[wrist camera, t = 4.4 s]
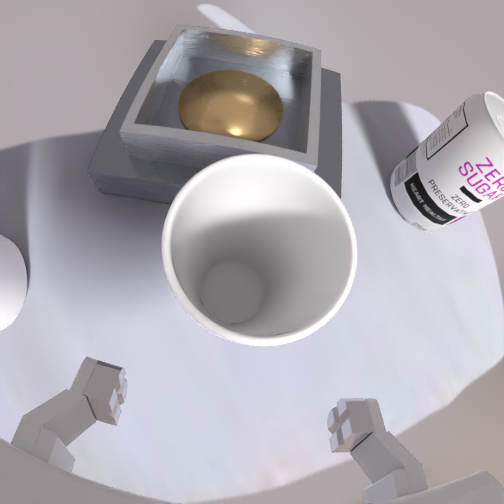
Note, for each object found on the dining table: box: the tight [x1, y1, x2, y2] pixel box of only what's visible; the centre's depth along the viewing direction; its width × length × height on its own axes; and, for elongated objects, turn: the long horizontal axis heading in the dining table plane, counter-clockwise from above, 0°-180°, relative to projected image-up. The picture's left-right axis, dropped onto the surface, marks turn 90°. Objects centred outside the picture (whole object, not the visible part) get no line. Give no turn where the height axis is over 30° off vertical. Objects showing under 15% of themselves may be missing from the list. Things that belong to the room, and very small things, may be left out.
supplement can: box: [390, 91, 504, 233], centre depth 22 cm, size 8×8×15 cm
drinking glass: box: [161, 154, 357, 346], centre depth 17 cm, size 7×7×15 cm
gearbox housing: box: [87, 25, 342, 204], centre depth 24 cm, size 20×17×8 cm
